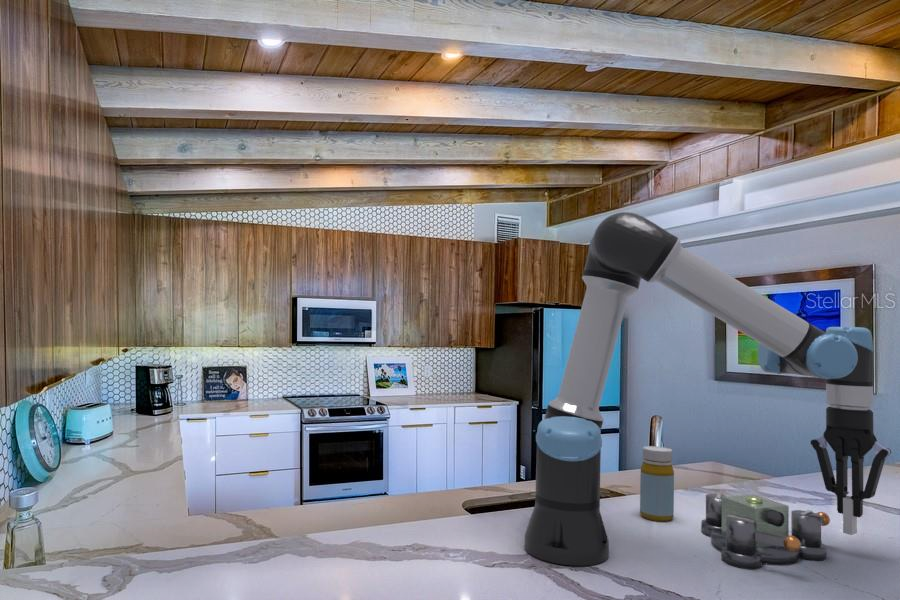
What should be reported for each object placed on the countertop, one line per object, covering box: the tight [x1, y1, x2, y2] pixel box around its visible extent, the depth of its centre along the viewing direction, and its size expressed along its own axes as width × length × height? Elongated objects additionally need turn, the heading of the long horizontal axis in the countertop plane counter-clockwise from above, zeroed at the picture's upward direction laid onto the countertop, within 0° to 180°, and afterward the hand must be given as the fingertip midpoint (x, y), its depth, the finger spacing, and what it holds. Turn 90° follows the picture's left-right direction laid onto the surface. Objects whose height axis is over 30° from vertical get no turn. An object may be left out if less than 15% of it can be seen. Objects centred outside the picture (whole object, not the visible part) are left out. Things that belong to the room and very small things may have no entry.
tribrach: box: [700, 493, 828, 570], centre depth 114 cm, size 22×20×10 cm
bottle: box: [639, 445, 675, 523], centre depth 131 cm, size 7×7×15 cm
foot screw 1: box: [705, 492, 726, 526], centre depth 124 cm, size 12×5×6 cm, turn 154°
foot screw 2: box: [726, 515, 801, 554], centre depth 103 cm, size 12×5×6 cm, turn 49°
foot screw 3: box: [790, 509, 831, 547], centre depth 112 cm, size 12×5×6 cm, turn 129°
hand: (850, 532), depth 111 cm, fingers closed
